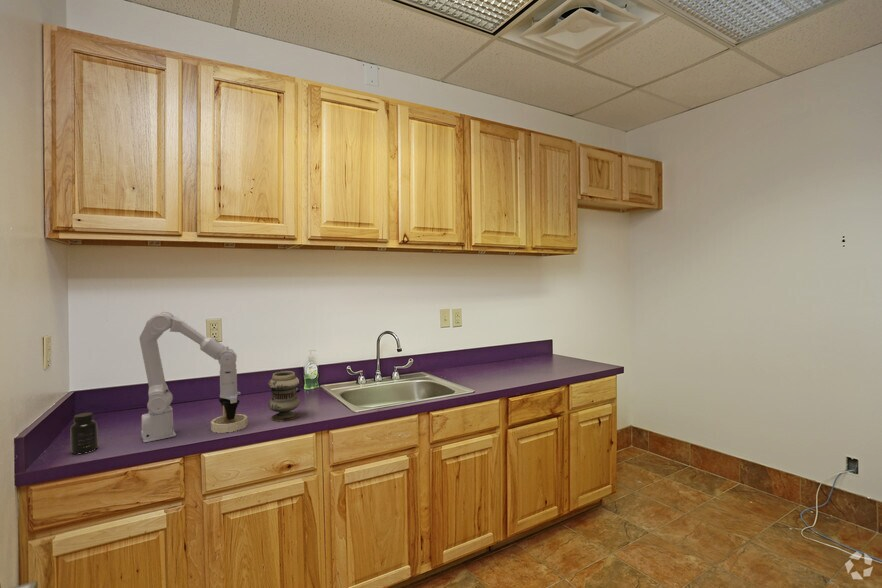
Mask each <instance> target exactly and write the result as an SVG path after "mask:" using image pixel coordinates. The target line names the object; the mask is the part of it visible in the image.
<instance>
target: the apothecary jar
mask: <svg viewBox="0 0 882 588" xmlns="http://www.w3.org/2000/svg"><path fill="white" fill-rule="evenodd" d="M299 384H300V380H299V378H298V377H297V376H296V373H295V371H291V370H281V371H276V372H274V373H272V377H271V379H270V380H269V381H268V383H267V385H268V388H269V389H270V390H271V399H270V400H269V402H268V408H269V409H270V410H271V411H273V412H277V413H276V414H273V415H272V416H271V418H270V419H271V420H272V421H274V420H275V421H277V422H285V421H292V420H294V419H296V418H297V417H298V414H297V413H296V412H293V411H294V410H295V409H297V408H298V407H299V406H300V405H301V399H300V398H299V397H298V396H297V395H298V394H297V386H299Z"/></svg>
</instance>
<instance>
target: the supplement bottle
mask: <svg viewBox="0 0 882 588" xmlns="http://www.w3.org/2000/svg"><path fill="white" fill-rule="evenodd" d="M69 431H70V433H69V435H70V451H71V454H72V453H74V454H73V455H76V454H78V453H85V452H89V451H92V450H94V449H96V448H97V449H99V436H98V435H99V433H98V423H97V421H95V420H94V413H93V412H83V413H79V414H75V415H74V416H73V424H72V425H71V426H70V428H69ZM97 449H96V450H97ZM94 451H95V450H94ZM92 452H93V451H92ZM89 453H90V452H89ZM85 454H86V453H85ZM78 455H79V454H78Z"/></svg>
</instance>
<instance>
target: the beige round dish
mask: <svg viewBox="0 0 882 588" xmlns="http://www.w3.org/2000/svg"><path fill="white" fill-rule="evenodd" d="M248 425H249V422H248V416H247V415H246V414H240V413H236V421H231V422H226V424H223V415H221V416H218V417H216V418H213V419H212V420H210V430H211V431H212V433H216V432H217V434H222V433H223V434H227V433H226V432H229V433H232V432H233V431H234V432H237V430H238V431H241V430H243V429H245V428H246V427H248ZM242 428H243V429H242ZM240 429H241V430H240ZM234 432H233V433H234Z"/></svg>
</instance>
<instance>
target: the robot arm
mask: <svg viewBox="0 0 882 588" xmlns="http://www.w3.org/2000/svg"><path fill="white" fill-rule="evenodd" d="M169 329H170V330H169ZM168 330H169V332H170V333H171V332H172V333H180V334H182V335H184V336H185V337H186V338H189V339H190V340H192V341H193V342H195V343H196V344H198V345H199V348H200V351H201V352H203V353H205V354H206V355H208V356H209V357H211V358H212V359H214V360H215V361H216V360H217V361H218V364H219V365H220V366H219V367H220V368H219V369H220V370H219V391H220V393H219V399H218V402H220V405H221V407H222V409H223V405H224V407H225V410H226V415H227V419H228V420H231V419H234V417H235V412H236V413H237V409H238V405H239V404H240V400H239V399H237V398H238V395H241V392H240V391H238V373H237V372H238V371H237V363H236V362H237V357H238V356H237V353H236V352H235V351H234V350H233V348H232V349H231V348H230V347H229V346H228V345H227V346H225V345H224V344H222V343H221V342H220V341H219V339H218V338H217V337H215V338H214V337H212V336H211V337H206V336H205V335H203V334H202V333H201V332H200V331H197V330H196V329H195V328H194V327H192V326H191V325H189V324H188V323H187V322H185V320H183V319H181V318H179V317H178V316H174V314H172V313H171V312H169V311H163V312H159V313H157V314H156V313H155V314H154V315H153V316H152V317H150V318H149V319H148V320H147V321H146V323H145V326H144V328H143V329H142V331H141V334H140V336H139V344H140V348H141V349H140V350H141V354H142V358H143V363H144V369H145V374H146V378H147V384H148V391H147V392H148V402H147V404H146V407H147V411H148V413H143V414H142V415H141V418H140V419H141V431H140V435H141V439H142V441H143V443H150V442H154V441H158V440H165V439H167V438H173V437H177V433H176V432H175V430H174V411H173V409H174V408H173V407H172V406H171V403H172V402H173V399H174V395H173V393H172V392H171V391H170V390H169V387H168V384H167V382H166V379H165V374H164V370H163V369H164V368H163V364H162V359H161V353H160V349H159V348H160V347H159V344H158V339H159V338H160V337H162V335H163V333H164V332H166V331H168Z"/></svg>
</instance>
